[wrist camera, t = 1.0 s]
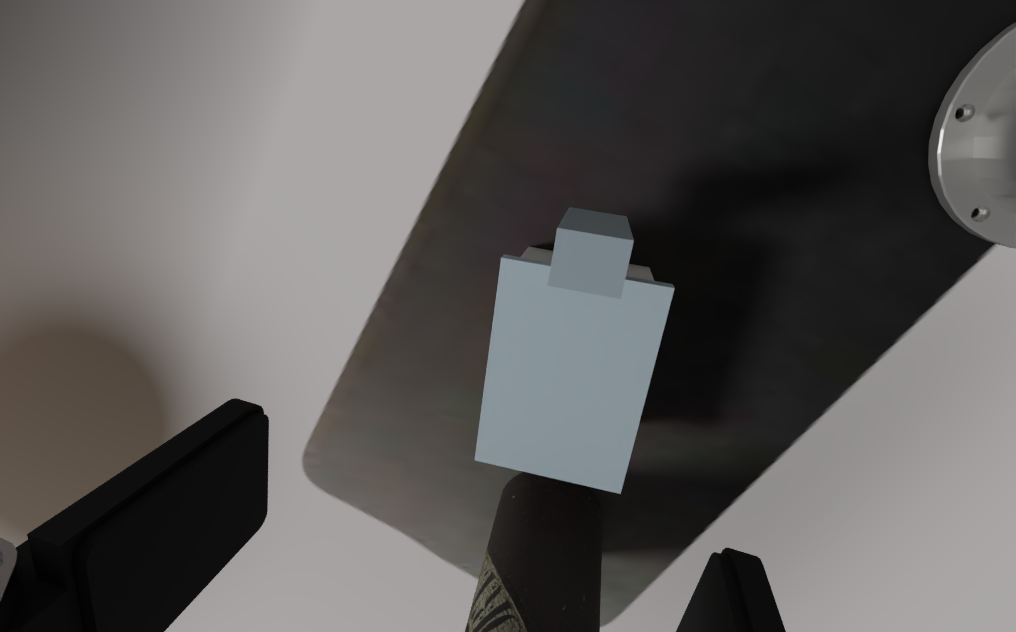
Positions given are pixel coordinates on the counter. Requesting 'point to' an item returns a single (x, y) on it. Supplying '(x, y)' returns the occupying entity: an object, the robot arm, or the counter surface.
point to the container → (541, 560)
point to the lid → (571, 356)
